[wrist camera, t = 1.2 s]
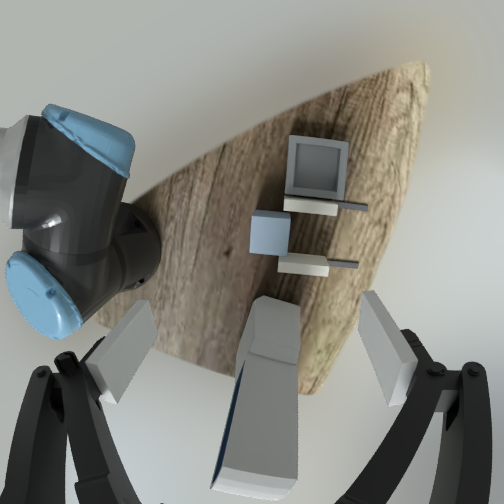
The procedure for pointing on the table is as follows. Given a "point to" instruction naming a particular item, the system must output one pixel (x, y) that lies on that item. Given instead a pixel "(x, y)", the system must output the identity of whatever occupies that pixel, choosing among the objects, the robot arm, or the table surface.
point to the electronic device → (263, 406)
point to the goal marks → (355, 207)
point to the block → (270, 232)
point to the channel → (305, 261)
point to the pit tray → (316, 167)
